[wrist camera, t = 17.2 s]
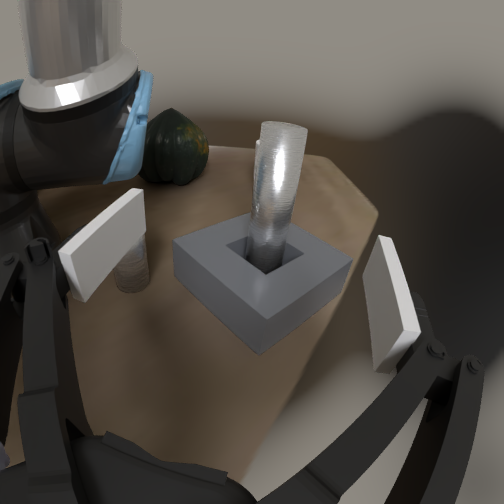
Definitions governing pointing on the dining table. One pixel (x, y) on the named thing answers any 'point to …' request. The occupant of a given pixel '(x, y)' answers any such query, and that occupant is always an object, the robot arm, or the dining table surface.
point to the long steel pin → (274, 193)
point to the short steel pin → (133, 268)
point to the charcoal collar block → (258, 280)
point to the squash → (173, 149)
